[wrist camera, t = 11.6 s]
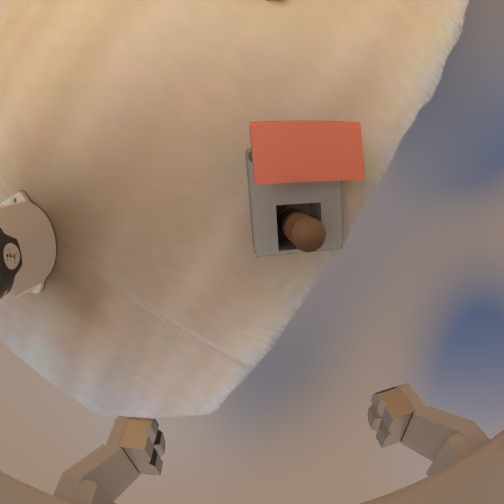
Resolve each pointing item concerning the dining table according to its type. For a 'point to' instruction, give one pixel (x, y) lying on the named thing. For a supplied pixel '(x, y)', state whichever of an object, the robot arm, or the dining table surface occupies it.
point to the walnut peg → (302, 229)
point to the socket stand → (300, 176)
